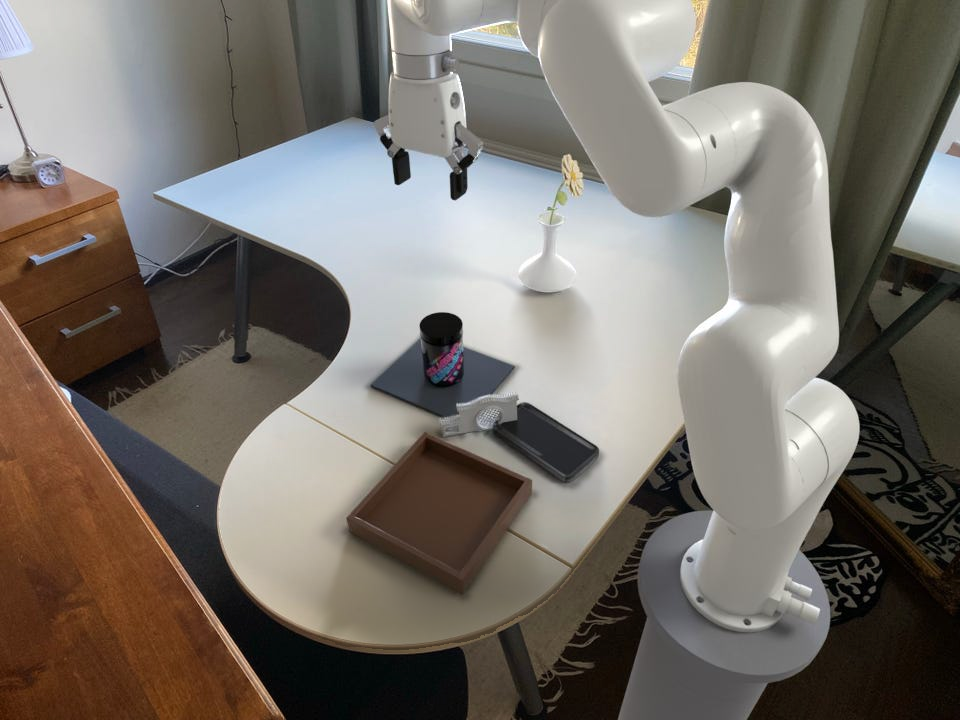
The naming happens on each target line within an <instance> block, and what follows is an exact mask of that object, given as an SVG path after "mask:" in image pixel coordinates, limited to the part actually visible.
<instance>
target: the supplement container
mask: <svg viewBox="0 0 960 720" xmlns="http://www.w3.org/2000/svg"><path fill="white" fill-rule="evenodd" d="M463 324H464V323H463V320H462V319H461V317H460V316H458V315H457V314H454V313H451V312H447V311H446V312H445V311H439V312H433V313H430V314H427V315H425V316H424V317H423V318H422V319H421V320H420V322H419V326H418V327H419V336H420V339H421V347H422V358H423V370H424V377H425V379H426V380H427V381H428V382H429V383H430V384H432V385H434V386H437V387H449V386H453V385H455V384H457V383H458V382H459V381H460V380H461V379H462V377H463V375H464V352H463V347H464V325H463Z"/></svg>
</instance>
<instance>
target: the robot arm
mask: <svg viewBox="0 0 960 720" xmlns="http://www.w3.org/2000/svg"><path fill="white" fill-rule="evenodd" d="M386 3H387V14H388V25H389V35H390V37H389V38H390V46H391V61H392V70H393V71H391V72H390V77H389V85H388V114H387V115H384V116H382V117H380V118H378V119H376V120H374V121H373V126H374V128H375V131H376V132H377V135H378V136H379V141H380V143H381V144H382V145H383V147H384V148H385V150H387V151H386V154H387V156H388V158H391V164H392V175H393V181H394V185H396V186H400V185H402V184H404V183H405V182H406V181H408V180H410V179H411V177H412V173H411V163H410V162H411V161H410V154H409V151H412V152H416V153H421V154H424V155H429V156H434V157H437V158H443V159H445V160H446V162H447V164H448V165H449V166H450V168H451V170H452V171H451V172H450V173H449V190H450V191H449V194H450V195H449V196H450V199H451V200H452V201H458V200H459V199H461V197H463V196H464V195H466V193H467V191H468V188H469V187H468V168H470V167H471V166H472V165H473V164H474V163H475V162H476V161H477V160H478V159H479V155H480V154H481V152H482V150H483V148H484V146H485V145H484V141H483V140H481V139H480V138H479V137H478V136H477V135H476V134H474V133H473V132H472V131H470V129H468V128H467V117H466V108H465V101H464V94H463V89H462V85H461V82H460V81H461V80H460V78H459V74H458V73H453V71H455V72H457V71H458V70H459V68H460V60H459V59H458V58H454V57H453V49H452V35H455V34H456V35H457V34H460V33H461V34H462V33H465V32H469V31H473V30H477V29H482V28H485V27H489V26H496V25H501V24H507V23H508V24H517V25H516V26H517V31H518V35H519V38H520V41H521V43H522V45H523V46H524V48H525V49H526V50H527V51H528V53H529V54H531V55H532V56H534V57H535V58H538V59H539V63H540V68H541V71H542V74H543V76H544V79H545V82H546V84H547V86H548V88H549V90H550V92H551V94H552V96H553V98H554V99H555V101H556V103H557V105H558V107H559V108H560V111H561V112H562V114H563V116H564V117H565V119H566V121H567V122H568V124H569V126H570V127H571V129H572V131H573V132H574V134H575V136H576V137H577V140H578V141H579V142H580V144H581V147H582V148H583V149H584V151H585V153H586V154H587V156H588V158H589V159H590V161H591V163H592V165H593V166H594V168H595V170H596V172H597V173H598V175H599V177H600V178H601V180H602V182H603V183H604V184H605V186H606V188H607V189H608V191H610V194H611V195H612V196H613V197H614V198H615V199H616V201H618V202H619V204H620V205H622V206H623V207H624V208H625V209H627V210H629V212H632V213H633V214H636V215H638V216H642V217H644V218H662V217H666V216H671V215H673V214H677V213H678V212H680V211H682V210H684V209H687V208H688V207H690V206H692V205H694V204H696V203H698V202H699V201H701V200H704V199H705V198H707V197H709V196H711V195H713V194H715V193H717V192H718V191H720V190H722V189H724V188H728V189H729V190H730V193H731V198H730V199H731V200H730V206H729V210H728V214H727V218H726V223H725V229H724V239H723V240H724V241H723V242H724V243H723V247H724V257H725V263H726V268H727V278H728V299H727V302H726V304H725V305H724V306H723V308H722V309H721V310H719V311H718V312H716V313H715V314H714V315H712V316H711V317H709V318H708V319H706V320H705V321H703V322H702V323H701V324H699V325H698V326H697V327H696V328H695V329H694V330H693V331H692V332H691V333H690V335H688V337H687V338H686V340H685V342H684V344H682V345H683V346H682V348H681V350H680V354H679V357H678V362H677V371H676V372H677V373H676V379H677V387H678V395H679V400H680V406H681V412H682V417H683V423H684V428H685V433H686V440H687V446H688V451H689V456H690V457H689V458H690V462H691V466H692V471H693V475H694V478H695V481H696V484H697V486H698V489H699V490H700V493H701V495H702V496H703V498H704V500H705V501H706V503H707V504H708V505H709V507H710V508H711V509H712V511H713V513H712V516H711V519H710V522H709V525H708V528H707V531H706V534H705V537H704V539H703V540H700V541H699V542H697V543H695V544H694V545H692V546H691V547H690V548H689V549H688V551H687V552H686V554H685V555H684V557H683V560H682V563H681V567H680V581H681V585H682V588H683V591H684V593H685V595H686V597H687V598H688V600H689V601H690V603H691V604H692V605H693V607H694V608H695V609H696V610H697V611H698V612H699V613H700V614H702V615H703V616H704V617H705V618H707V619H708V620H710V621H711V622H713V623H715V624H717V625H718V626H721V627H723V628H726V629H728V630H733V631H737V632H749V633H751V632H758V631H762V630H765V629H768V628H770V627H771V626H773V625H774V624H776V623H777V622H778V621H779V620H780V618H781V617H782V615H783V614H785V612H786V611H787V612H789V613H791V614H794V615H796V616H798V618H800V619H803V620H805V621H807V622H809V623H811V624H815V623H816V621H817V619H818V616H819V612H820V609H819V608H817V607H815V606H812V605H810V604H808V603H806V602H802V601H799V600H797V599H795V598H793V597H791V595H792V594H791V593H789V592H788V591H790V592H792V593H794V594H797V596H800V597H802V598H804V599H807V600H809V598H810V596H811V592H812V589H811V588H808V587H806V586H804V585H800V584H798V583H795V582H793V581H791V580H792V578H790V577H788V576H787V575H788V572H789V568H790V566H791V564H792V562H793V560H794V558H795V556H796V554H797V552H798V550H800V548H801V546H802V545H803V542H804V541H805V539H806V537H807V535H808V533H809V531H810V530H811V528H812V526H813V524H814V522H815V520H816V519H817V516H818V514H819V513H820V511H821V508H822V506H823V505H824V503H825V501H826V499H827V497H828V496H829V494H830V493H831V491H832V490H833V488H834V486H835V485H836V484H837V482H838V480H839V478H840V477H841V475H842V474H843V472H844V471H845V469H846V467H847V466H848V464H849V463H850V462H851V459H852V457H853V455H854V453H855V451H856V448H857V445H858V442H859V439H860V420H859V415H858V411H857V409H856V407H855V405H854V403H853V401H852V400H851V399H850V397H849V396H848V395H847V393H845V391H844V390H843V389H841V388H840V387H838V386H837V385H835V384H833V383H832V382H830V381H829V380H826V379H822V378H819V377H817V376H819V374H821V372H822V371H823V370H825V368H827V366H828V365H829V364H830V362H831V361H832V360H833V358H834V357H835V355H836V353H837V351H838V348H839V344H840V343H839V342H840V326H839V315H838V314H839V313H838V301H837V300H838V299H837V286H836V275H835V274H836V273H835V260H834V249H833V243H832V231H831V215H830V214H831V213H830V186H829V184H830V181H829V167H828V160H827V154H826V149H825V148H826V147H825V143H824V141H823V138H822V135H821V132H820V131H819V128H818V126H817V124H816V122H815V121H814V119H813V118H812V116H811V115H810V113H809V112H808V111H807V110H806V108H804V106H803V105H802V104H801V103H800V102H799V101H798V100H796V99H795V98H794V97H792V96H791V95H790V94H788V93H786V92H784V91H782V90H781V89H779V88H776V87H773V86H771V85H768V84H763V83H759V82H751V81H738V82H730V83H723V84H719V85H715V86H712V87H708V88H706V89H702V90H700V91H697V92H694V93H692V94H689V95H686V96H684V97H682V98H680V99H676V100H675V101H672V102H670V103H669V102H668V103H667V104H664V105H662V103H661V102H660V100H659V99H658V96H657V95H656V94H655V91H654V90H653V88H652V86H651V85H650V84H649V83H650V82H653V81H655V80H657V79H659V78H661V77H663V76H665V75H667V74H668V73H670V72H671V71H672V70H673V69H675V68H676V67H677V66H678V65H679V64H681V62H682V61H683V59H684V58H686V56H687V53H688V52H689V50H690V48H691V46H692V44H693V42H694V37H695V34H696V29H697V16H696V15H697V14H696V10H695V6H694V4H693V1H692V0H386ZM466 146H467V148H468V149H467V153H466V152H465V150H464V147H466ZM407 150H409V151H407Z"/></svg>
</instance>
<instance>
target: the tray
mask: <svg viewBox="0 0 960 720" xmlns="http://www.w3.org/2000/svg"><path fill="white" fill-rule="evenodd" d="M532 494H533V479H531V478H529V477H527V476H524V475H522V474H520V473H518V472H516V471H513V470H512V469H511V470H510V469H509V468H507V467H504V466H503V465H500V464H497V463H495V462H493V461H490V460H488V459H486V458H484V457H482V456H479V455H478V454H475V453H472V452H470V451H468V450H466V449H464V448H462V447H459V446H457V445H455V444H452V443H451V442H448V441H446V440H443V439H441V438H440V437H437V436H435V435H432V434H430V433H428V432H426V431H425V432H423V433H422V434H421V436H419V437H418V438H417V439H416V441H415V442H414V443H413V444H412V445H411V446H410V447H409V448H408V450H407V451H406V452H405V453H404V454H403V455H402V456H401V457H400V458H399V459H398V460H397V461H396V462H395V464H394V465H393V466H392V467H391V468H390V469H389V470H388V471H387V472H386V473H385V475H384V476H383V477H382V478H381V479H380V480H379V481H378V482H377V483H376V484H375V486H374V487H373V488H372V489H371V490H370V491H369V492H368V493H367V494H366V495H365V496H364V498H363V499H362V500H360V502H359V503H358V504H357V505H356V506H355V507H354V508H353V510H352V511H350V513H348V515H347V516H346V517H345V520H346V524H347V528H348V533H351V534H353V535H355V536H356V537H358V538H360V539H362V540H364V541H365V542H367V543H369V544H371V545H373V546H375V547H376V548H378V549H380V550H382V551H383V552H385V553H388V554H389V555H391V556H392V557H395V558H397V559H398V560H400V561H401V562H404V563H405V564H408V565H410V566H411V567H413V568H415V569H417V570H418V571H420V572H422V573H424V574H426V575H428V576H429V577H431V578H433V579H435V580H437V581H438V582H440V583H442V584H444V585H445V586H448V587H449V588H451V589H452V590H455V591H456V592H459V593H460V594H462V595H464V594H465V593H466V591H467V590H468V588H469V586H470V585H471V584H472V582H473V581H474V579H475V578H476V576H477V575H478V573H479V572H480V570H481V569H482V567H483V566H484V565H485V564H486V562H487V560H488V559H489V557H490V556H491V554H492V553H493V551H494V550H495V548H496V547H497V546H498V544H499V542H500V541H501V540H502V538H503V537H504V535H505V533H507V531H508V529H509V528H510V526H511V525H512V523H513V522H514V521H515V519H516V518H517V516H518V515H519V513H520V512H521V510H522V509H523V508H524V506H525V505H526V503H527V502H528V500H529V498H530V497H531V496H532Z"/></svg>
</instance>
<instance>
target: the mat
mask: <svg viewBox="0 0 960 720" xmlns="http://www.w3.org/2000/svg"><path fill="white" fill-rule="evenodd" d="M463 352H464V375H463V377H462V379H461V380H460V381H459V382H458V383H457V384H455V385H453V386H449V387H437V386H434V385H432V384H430V383H429V382H428V381H427V380H426V379H425V377H424V370H423V358H422V347H421V338H419V339H418V340H417V341H416V342H415V343H414V344H412V346H411V347H410V348H408V349H407V350H406V351H405V352H404V353H402V355H401V356H400V357H399V358H398V359H397V360H395V361H394V362H393V363H392V364H391V365H390V366H389V367H388V368H387V369H386V370H385V371H383V372H382V374H380V375H379V376H378V377H377V378H376V379H375V380H373V382H372V383H370V387H371V388H373V389H376V390H378V391H380V392H383V393H385V394H387V395H390V396H392V397H395V398H397V399H400V401H401V400H402V401H404V402H407V403H408V404H411V405H412V406H416V407H418V408H420V409H423V410H425V411H427V412H429V413H432V414H435V415H436V416H439V417H440V418H442V417H443V419H444V417H446V418H447V417H448V418H449V416H450V417H452V415H453V417H454V415H455V416H456V414H457V415H459V412H458V410H457V407H456V405H457V403H458V405H459V403H460V404H462V403H463V404H464V403H465V404H466V402H467V403H469V401H470V402H471V400H472V401H474V400H476V398H477V399H478V397H479V398H480V397H483V396H486V395H489V394H490V395H491V394H492V395H494V392H495V391H496V390H497V389H498V388H499V387H500V386H501V385H502V383H503V382H504V381H505V380H506V379H507V377H508V376H509V375H510V374H511V373H512V372H513V370H514V369H515V368H516V366H515V365H514V364H511V363H508V362H506V361H502V360H500V359H497V358H495V357H492V356H490V355H487V354H483V353H481V352H479V351H476V350H473V349H471V348H468V347H465V346H463ZM473 399H474V400H473Z"/></svg>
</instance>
